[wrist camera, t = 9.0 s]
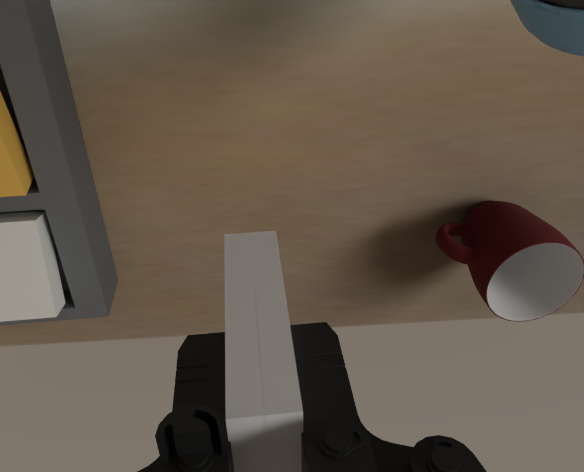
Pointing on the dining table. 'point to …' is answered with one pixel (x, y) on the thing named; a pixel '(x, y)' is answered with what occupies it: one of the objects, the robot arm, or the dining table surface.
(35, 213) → the rocker grey
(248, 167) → the dining table surface
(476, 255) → the mug
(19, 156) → the rocker amber
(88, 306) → the power strip
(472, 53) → the dining table surface
